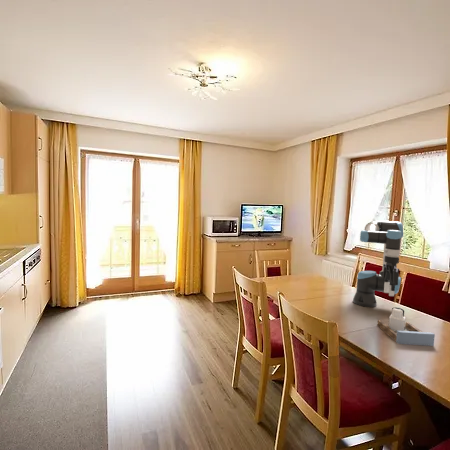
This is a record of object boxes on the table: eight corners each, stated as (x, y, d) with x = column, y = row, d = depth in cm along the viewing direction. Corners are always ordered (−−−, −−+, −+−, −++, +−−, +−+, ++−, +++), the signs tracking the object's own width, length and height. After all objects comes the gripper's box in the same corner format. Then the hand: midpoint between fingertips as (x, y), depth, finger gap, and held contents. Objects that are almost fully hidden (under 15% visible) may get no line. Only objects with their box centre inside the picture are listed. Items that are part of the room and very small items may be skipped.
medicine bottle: (390, 325, 165) (392, 305, 164) (404, 329, 161) (406, 308, 160) (388, 329, 160) (389, 308, 159) (402, 333, 155) (404, 312, 154)
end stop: (396, 341, 145) (397, 330, 144) (430, 344, 144) (432, 332, 143) (398, 343, 143) (399, 332, 142) (433, 345, 142) (434, 334, 141)
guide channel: (377, 325, 165) (377, 320, 165) (407, 327, 164) (408, 322, 164) (396, 341, 145) (396, 336, 145) (430, 344, 144) (431, 338, 144)
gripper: (378, 253, 178) (375, 289, 179) (393, 258, 159) (390, 298, 161) (390, 253, 177) (387, 290, 179) (407, 259, 159) (403, 299, 161)
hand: (388, 294), depth 170 cm, fingers open, 5 cm apart
